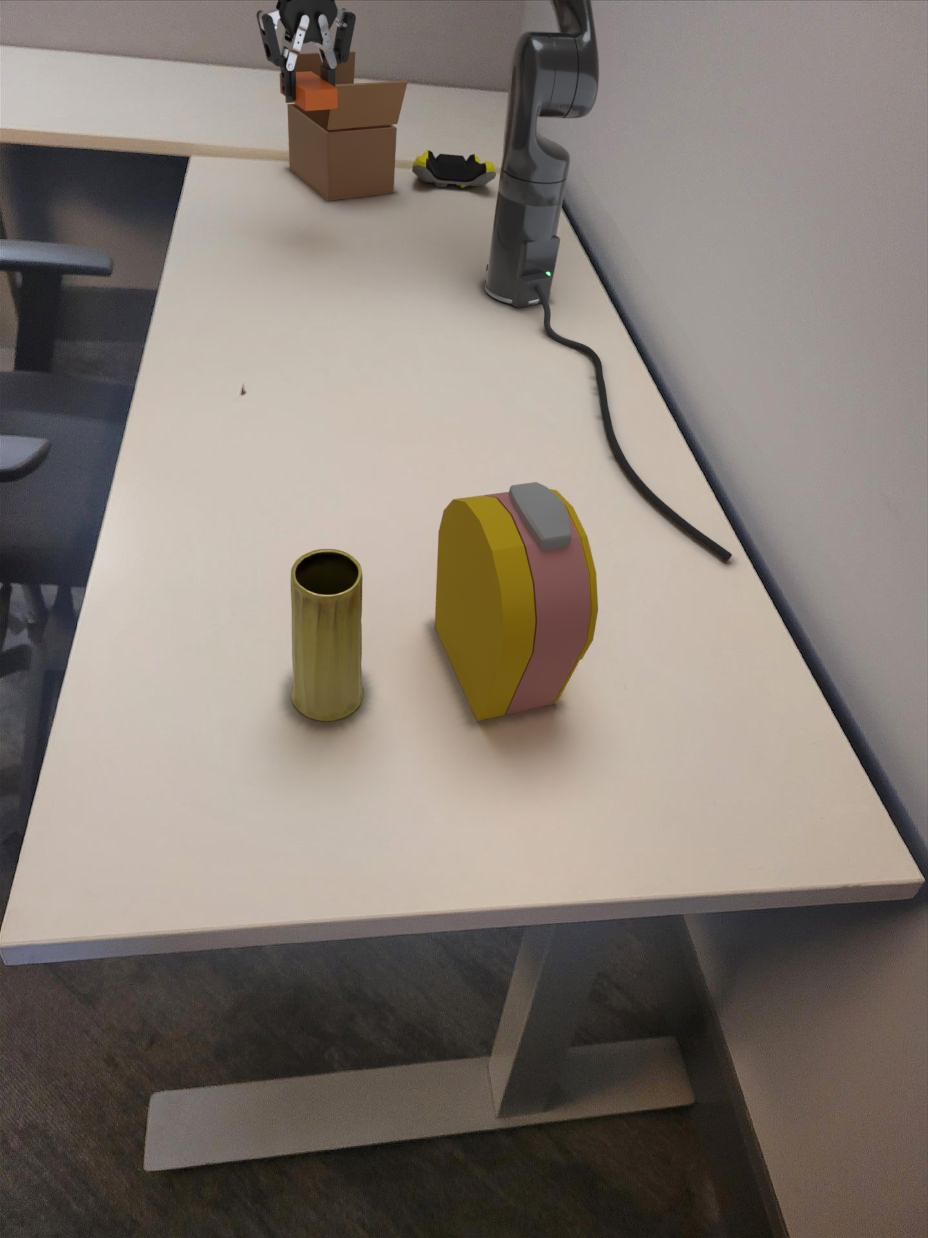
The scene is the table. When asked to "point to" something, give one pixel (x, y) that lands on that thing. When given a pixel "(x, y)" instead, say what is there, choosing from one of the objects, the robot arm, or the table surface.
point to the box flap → (367, 104)
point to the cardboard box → (339, 145)
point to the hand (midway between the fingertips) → (308, 97)
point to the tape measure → (514, 597)
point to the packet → (314, 92)
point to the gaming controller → (453, 170)
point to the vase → (326, 634)
